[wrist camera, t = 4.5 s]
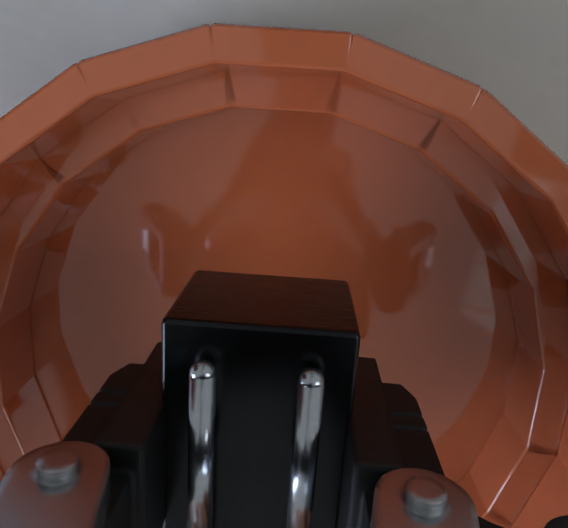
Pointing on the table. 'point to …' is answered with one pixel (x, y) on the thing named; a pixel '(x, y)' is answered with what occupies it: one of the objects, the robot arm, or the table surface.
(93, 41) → the table surface
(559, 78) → the table surface
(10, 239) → the bowl
